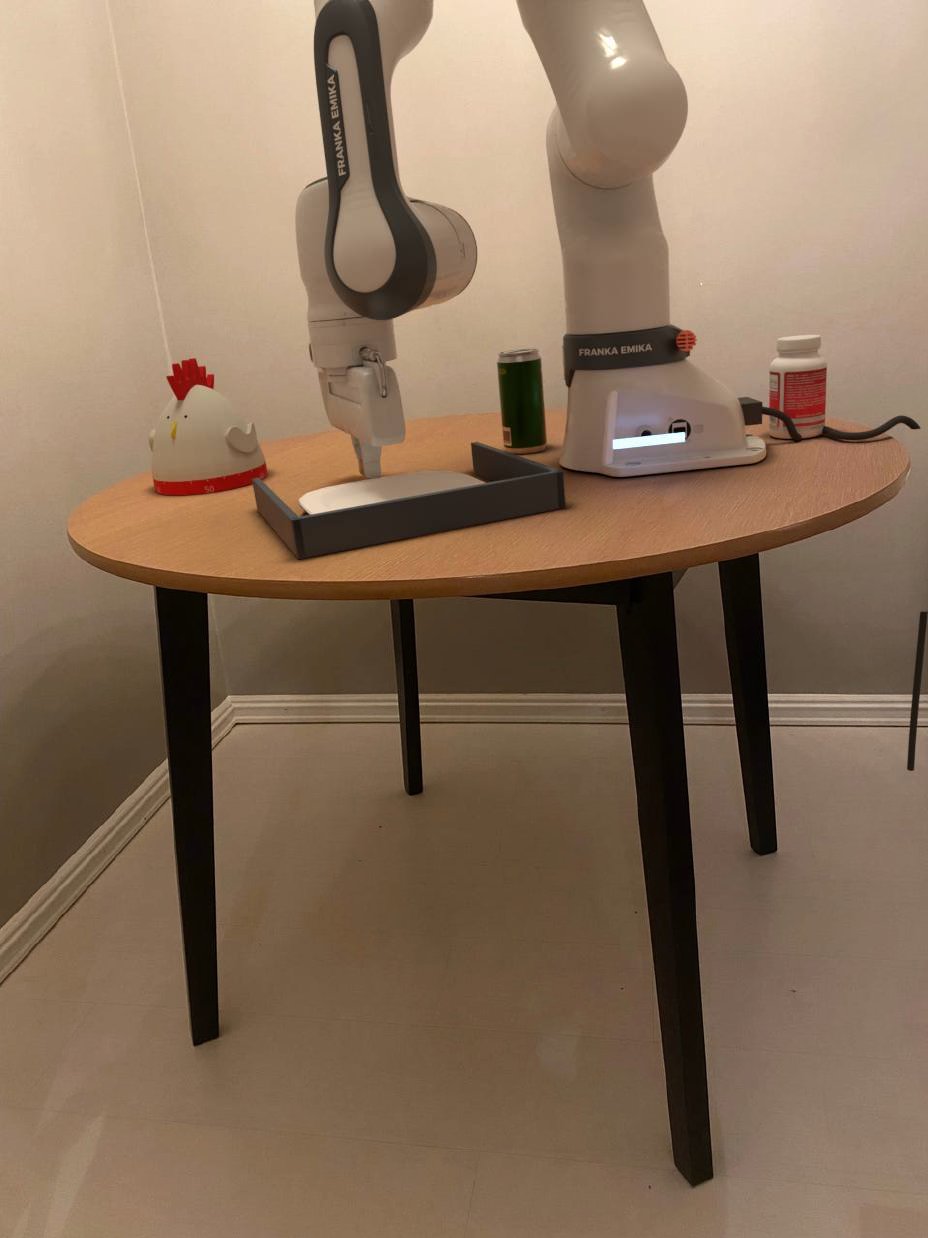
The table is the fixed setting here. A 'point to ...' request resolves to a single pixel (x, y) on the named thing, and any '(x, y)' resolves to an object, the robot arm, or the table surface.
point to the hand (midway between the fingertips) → (370, 476)
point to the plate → (383, 490)
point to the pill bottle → (798, 386)
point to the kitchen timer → (202, 439)
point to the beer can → (522, 401)
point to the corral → (421, 507)
